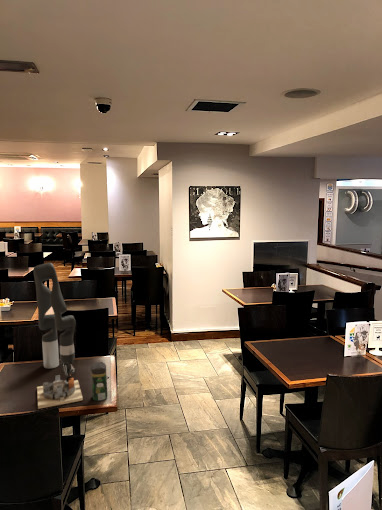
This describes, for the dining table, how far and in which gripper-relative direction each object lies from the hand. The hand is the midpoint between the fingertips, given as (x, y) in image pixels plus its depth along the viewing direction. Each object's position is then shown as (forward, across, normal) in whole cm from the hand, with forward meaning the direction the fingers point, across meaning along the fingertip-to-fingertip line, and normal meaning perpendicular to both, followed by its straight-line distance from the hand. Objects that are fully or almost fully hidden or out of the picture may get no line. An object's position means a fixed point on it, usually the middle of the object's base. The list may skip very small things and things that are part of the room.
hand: (68, 381), depth 222 cm
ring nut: (+3, +1, -6) cm, 7 cm away
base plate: (+5, +1, -6) cm, 8 cm away
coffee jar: (+5, +19, +8) cm, 21 cm away
